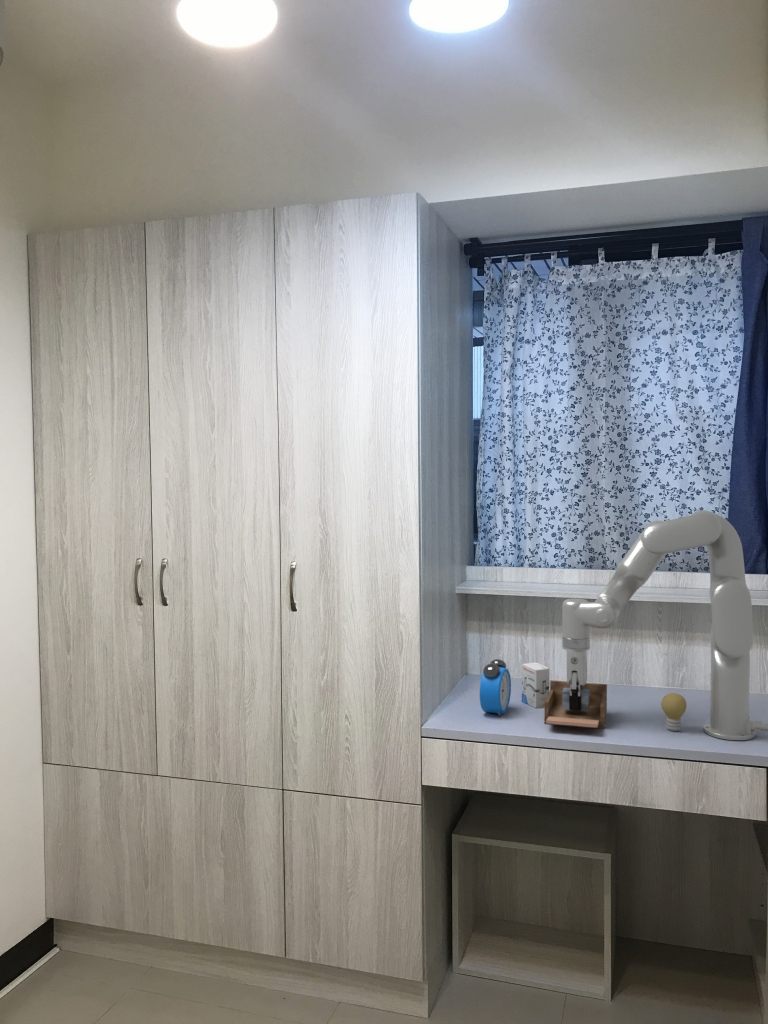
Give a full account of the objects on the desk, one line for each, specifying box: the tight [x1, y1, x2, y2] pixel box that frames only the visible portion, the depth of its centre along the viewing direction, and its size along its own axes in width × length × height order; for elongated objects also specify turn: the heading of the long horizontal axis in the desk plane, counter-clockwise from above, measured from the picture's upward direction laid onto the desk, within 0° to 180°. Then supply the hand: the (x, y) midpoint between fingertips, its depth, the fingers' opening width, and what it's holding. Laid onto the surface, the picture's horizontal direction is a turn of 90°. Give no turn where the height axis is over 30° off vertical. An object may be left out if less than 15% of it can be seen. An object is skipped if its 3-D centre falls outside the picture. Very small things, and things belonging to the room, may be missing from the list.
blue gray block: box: [562, 688, 590, 711], centre depth 234 cm, size 7×5×5 cm, turn 72°
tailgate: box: [546, 716, 599, 728], centre depth 225 cm, size 13×1×7 cm
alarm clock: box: [479, 658, 512, 717], centre depth 242 cm, size 13×6×15 cm, turn 157°
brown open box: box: [543, 680, 608, 730], centre depth 235 cm, size 16×15×8 cm
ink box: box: [521, 662, 550, 709], centre depth 250 cm, size 9×5×12 cm, turn 21°
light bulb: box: [660, 692, 687, 732], centre depth 224 cm, size 6×6×10 cm
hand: (576, 706), depth 234 cm, fingers closed on blue gray block, 4 cm apart
